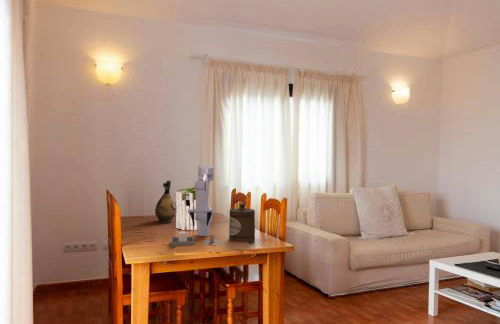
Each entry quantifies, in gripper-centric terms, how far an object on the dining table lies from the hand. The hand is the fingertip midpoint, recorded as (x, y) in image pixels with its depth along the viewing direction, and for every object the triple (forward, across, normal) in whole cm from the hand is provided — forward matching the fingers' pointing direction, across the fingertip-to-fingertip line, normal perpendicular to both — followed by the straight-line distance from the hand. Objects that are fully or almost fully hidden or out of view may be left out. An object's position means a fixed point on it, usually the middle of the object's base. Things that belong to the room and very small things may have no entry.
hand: (200, 225), depth 225 cm
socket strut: (+9, -10, -5) cm, 14 cm away
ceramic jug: (+10, -20, +72) cm, 75 cm away
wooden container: (+10, +24, 0) cm, 26 cm away
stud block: (+9, +6, -6) cm, 13 cm away
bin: (+9, -10, -5) cm, 15 cm away
